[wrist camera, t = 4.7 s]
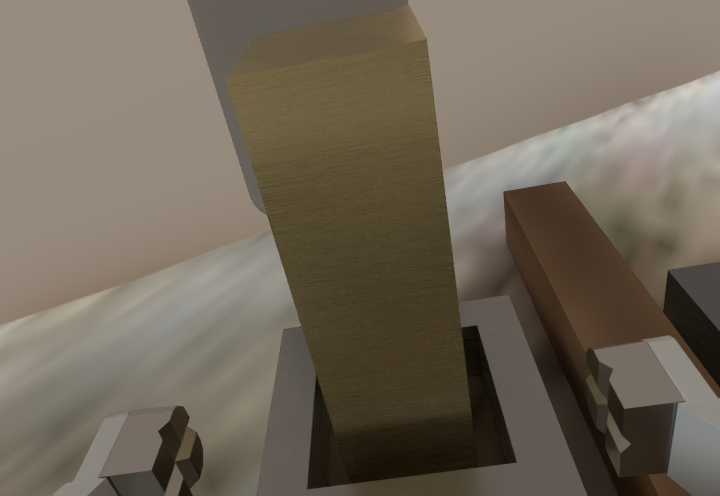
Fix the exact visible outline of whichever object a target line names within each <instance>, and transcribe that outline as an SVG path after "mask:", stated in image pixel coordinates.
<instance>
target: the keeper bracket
mask: <svg viewBox="0 0 720 496" xmlns="http://www.w3.org/2000/svg"><path fill="white" fill-rule="evenodd" d="M663 313H664V314H665V315H666V317H667V318H668V319H669V321H670V322H671V323H672V325H673V326H674V327H675V329H676V330H677V331H678V333H679V334H680V335H681V337H682V338H683V340H684V341H685V342H686V344H687V345H688V346H689V348H690V349H691V350H692V352H693V353H694V354H695V356H696V357H697V358H698V360H699V361H700V362H701V364H702V365H703V366H704V368H705V369H706V370H707V372H708V373H709V374H710V376H711V377H712V378H713V380H714V381H715V382H716V384H717V385H718V386H719V388H720V262H717V263H711V264H704V265H698V266H691V267H685V268H678V269H672V270H668V274H667V283H666V292H665V300H664V309H663Z"/></svg>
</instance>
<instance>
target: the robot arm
mask: <svg viewBox="0 0 720 496" xmlns="http://www.w3.org/2000/svg"><path fill="white" fill-rule="evenodd" d="M586 364H587V366H588V368H589V370H590V372H591V374H590V375H589V376H588V377H587V379H586V380H585V382H586V398H587V403H588V408H589V411H590V414H591V417H592V419H593V422H594V424H595V426H596V428H597V429H598V430H600V431H601V432H603V433H604V434H606V438H605V448H606V451H607V453H608V455H609V457H610V459H611V461H612V463H613V466H614V468H615V470H616V472H617V474H618V476H619V477H629V476H640V475H651V474H662V473H667V476H669V477H670V478H671V479H672V480H674V481H675V482H676V483H677V484H679V485H680V486H681V487H682V488H683V489H685V490H686V491H687V492H688V493H690V494H691V495H692V496H720V398H718V397H717V395H716V394H715V393H714V391H713V390H712V388H711V387H710V386H709V384H708V383H707V382H706V380H705V379H704V378H703V376H702V375H701V374H700V372H699V371H698V369H697V368H696V367H695V365H694V364H693V363H692V361H691V360H690V359H689V357H688V356H687V354H686V353H685V352H684V350H683V349H682V348H681V346H680V345H679V344H678V342H677V341H676V340H675V338H673V337H671V336H670V335H668V336H661V337H655V338H648V339H642V340H636V341H629V342H623V343H616V344H609V345H603V346H596V347H589V348H588V350H587V353H586ZM188 421H189V416H188V414H187V412H186V410H185V409H184V407H183V406H170V407H161V408H153V409H144V410H135V411H131V412H122V413H113V414H109V415H108V416H107V417H106V418H105V419H104V420H103V422H102V424H101V426H100V428H99V430H98V432H97V434H96V436H95V438H94V440H93V442H92V444H91V446H90V448H89V450H88V453H87V455H86V457H85V459H84V461H83V463H82V465H81V467H80V469H79V471H78V473H77V475H76V477H75V479H74V481H73V482H69V483H65V484H64V485H63V486H62V487H61V488H60V489H59V490H57V491H56V492H55V493H54V494H53V495H52V496H193V495H192V493H191V491H190V489H191V488H192V486H193V485H194V484H195V483H196V482H197V481H198V480H199V479H200V475H201V471H202V467H203V449H202V444H201V440H200V438H199V436H198V434H197V432H195V431H194V430H192V429H190V428H189V427H187V424H188Z"/></svg>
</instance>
